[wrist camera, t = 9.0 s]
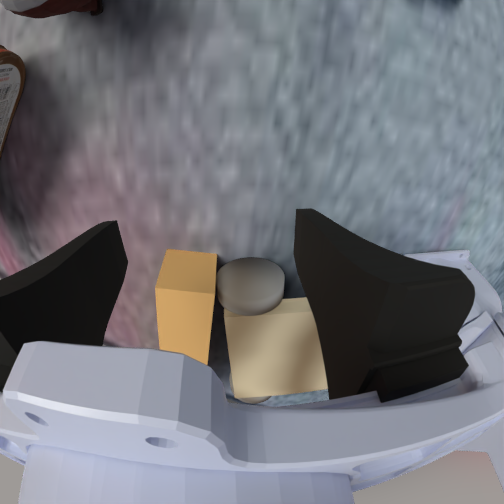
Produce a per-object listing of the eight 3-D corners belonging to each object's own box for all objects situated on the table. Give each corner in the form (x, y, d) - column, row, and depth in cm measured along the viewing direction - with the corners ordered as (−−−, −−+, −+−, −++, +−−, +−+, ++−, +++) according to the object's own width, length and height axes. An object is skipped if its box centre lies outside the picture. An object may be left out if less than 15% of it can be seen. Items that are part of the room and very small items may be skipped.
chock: (216, 252, 23) (215, 294, 19) (204, 367, 32) (203, 404, 28) (167, 247, 23) (155, 287, 18) (170, 363, 31) (166, 400, 27)
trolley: (389, 249, 24) (415, 284, 20) (355, 354, 32) (367, 387, 28) (216, 259, 23) (214, 302, 19) (230, 367, 31) (231, 404, 27)
